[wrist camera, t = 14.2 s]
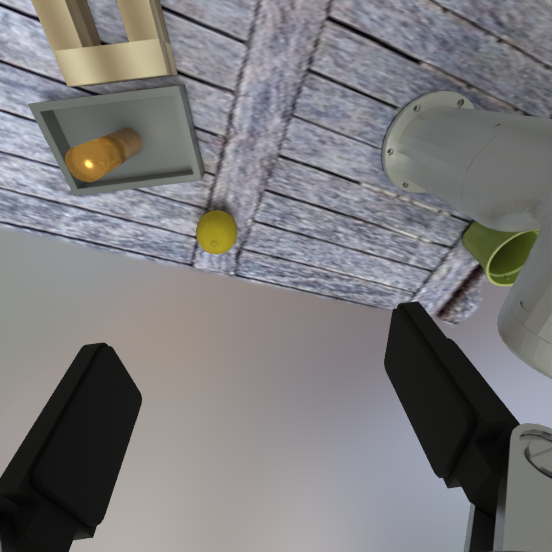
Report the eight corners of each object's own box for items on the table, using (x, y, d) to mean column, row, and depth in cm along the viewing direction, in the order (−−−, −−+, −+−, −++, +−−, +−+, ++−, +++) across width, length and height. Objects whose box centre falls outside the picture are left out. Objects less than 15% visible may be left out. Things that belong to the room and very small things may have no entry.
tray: (184, 85, 34) (178, 85, 31) (204, 172, 39) (201, 180, 36) (46, 101, 34) (27, 103, 31) (87, 187, 39) (74, 196, 36)
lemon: (192, 213, 42) (182, 237, 36) (225, 195, 41) (221, 217, 35) (213, 242, 45) (208, 270, 39) (244, 227, 44) (244, 253, 38)
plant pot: (447, 223, 47) (484, 248, 40) (508, 195, 45) (558, 217, 38) (455, 265, 52) (488, 295, 44) (510, 242, 50) (554, 269, 43)
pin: (137, 126, 35) (93, 144, 25) (146, 153, 36) (108, 180, 27) (112, 129, 35) (58, 148, 25) (122, 155, 36) (75, 184, 26)
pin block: (147, -53, 28) (129, -76, 23) (177, 75, 33) (167, 74, 29) (41, -41, 27) (4, -62, 23) (90, 85, 33) (67, 86, 29)
